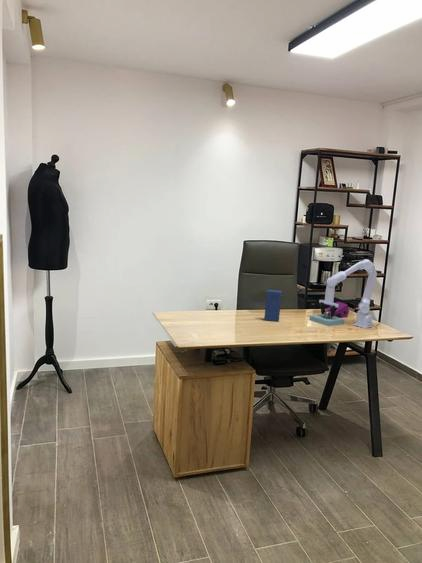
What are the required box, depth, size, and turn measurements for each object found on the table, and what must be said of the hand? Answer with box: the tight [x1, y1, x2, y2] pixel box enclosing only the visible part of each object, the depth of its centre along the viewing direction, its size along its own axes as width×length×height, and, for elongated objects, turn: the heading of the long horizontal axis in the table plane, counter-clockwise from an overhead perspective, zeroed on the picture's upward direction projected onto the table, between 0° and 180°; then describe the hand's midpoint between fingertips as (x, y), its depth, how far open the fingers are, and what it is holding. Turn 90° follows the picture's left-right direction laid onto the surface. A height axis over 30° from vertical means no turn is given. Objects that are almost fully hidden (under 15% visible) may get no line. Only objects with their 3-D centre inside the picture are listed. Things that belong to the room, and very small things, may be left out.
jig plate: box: [309, 313, 345, 327], centre depth 311 cm, size 16×16×3 cm
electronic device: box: [263, 289, 283, 322], centre depth 303 cm, size 10×5×20 cm, turn 84°
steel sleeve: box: [323, 311, 331, 319], centre depth 311 cm, size 4×4×7 cm
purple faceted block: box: [325, 301, 350, 319], centre depth 329 cm, size 9×8×18 cm
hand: (327, 315), depth 311 cm, fingers open, 7 cm apart
